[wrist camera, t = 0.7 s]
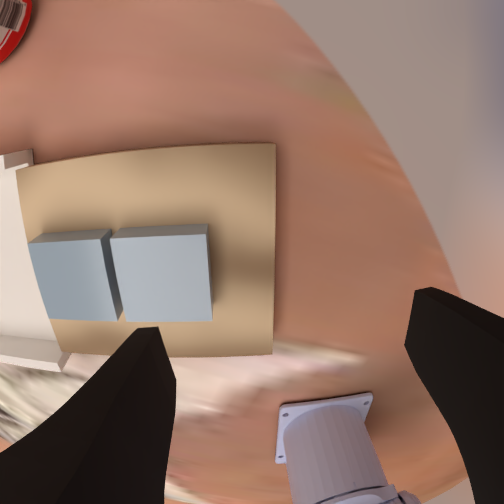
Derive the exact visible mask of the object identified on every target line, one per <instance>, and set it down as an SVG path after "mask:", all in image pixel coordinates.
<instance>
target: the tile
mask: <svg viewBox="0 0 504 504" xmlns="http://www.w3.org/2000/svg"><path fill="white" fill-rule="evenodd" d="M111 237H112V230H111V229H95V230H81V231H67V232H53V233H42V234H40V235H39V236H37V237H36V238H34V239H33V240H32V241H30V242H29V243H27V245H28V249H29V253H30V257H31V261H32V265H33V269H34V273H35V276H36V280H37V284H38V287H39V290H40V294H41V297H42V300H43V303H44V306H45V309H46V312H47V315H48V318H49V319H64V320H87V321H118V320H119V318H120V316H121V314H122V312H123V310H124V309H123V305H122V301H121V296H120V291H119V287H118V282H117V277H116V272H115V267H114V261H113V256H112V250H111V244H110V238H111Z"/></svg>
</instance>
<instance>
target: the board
mask: <svg viewBox="0 0 504 504" xmlns="http://www.w3.org/2000/svg"><path fill="white" fill-rule="evenodd" d="M15 171H16V180H17V187H18V194H19V201H20V207H21V213H22V218H23V224H24V229H25V234H26V238H27V243H29V242H30V241H32V240H33V239H34V238H36V237H37V236H39V235H40V234H42V233H53V232H67V231H81V230H95V229H111V230H112V236H113V235H114V234H115V233H116V232H117V231H118V230H119V229H120V228H128V227H145V226H165V225H186V224H208V230H209V247H210V263H211V277H212V291H213V304H214V305H213V321H190V322H126V318H125V314H124V310H123V312H122V314H121V316H120V318H119V320H118V321H87V320H64V319H49V320H50V323H51V325H52V328H53V331H54V333H55V336H56V339H57V341H58V344H59V346H60V349H61V351H62V352H71V353H82V354H96V355H112V354H113V353H114V352H115V351H116V350H117V349H118V348H119V347H120V346H121V345H122V343H123V342H124V341H125V340H126V339H127V338H128V337H129V336H130V335H131V334H132V333H133V332H134V331H135V330H136V329H137V328H144V327H157V326H158V327H159V330H160V333H161V336H162V339H163V343H164V346H165V349H166V352H167V355H168V357H231V356H253V355H270V354H272V346H273V314H274V274H275V214H276V144H275V143H271V142H238V143H209V144H191V145H176V146H163V147H152V148H141V149H132V150H123V151H115V152H107V153H100V154H93V155H86V156H79V157H73V158H67V159H61V160H56V161H50V162H45V163H40V164H35V165H31V166H27V167H24V168H21V169H17V170H15Z"/></svg>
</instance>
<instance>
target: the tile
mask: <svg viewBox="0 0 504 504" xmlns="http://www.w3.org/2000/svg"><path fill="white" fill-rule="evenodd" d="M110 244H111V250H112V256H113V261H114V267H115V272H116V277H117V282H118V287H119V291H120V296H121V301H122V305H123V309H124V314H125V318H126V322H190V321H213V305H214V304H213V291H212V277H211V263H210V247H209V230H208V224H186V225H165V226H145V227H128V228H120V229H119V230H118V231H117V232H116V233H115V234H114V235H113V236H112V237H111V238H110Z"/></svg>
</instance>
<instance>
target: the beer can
mask: <svg viewBox="0 0 504 504" xmlns="http://www.w3.org/2000/svg"><path fill="white" fill-rule="evenodd" d="M31 9H32V1H31V0H0V63H1V62H2V61H4V60H5V59H6V58H7V57H8V56H9V55H10V53H11V52H12V51H13V50H14V49H15V47H16V46H17V45H18V44H19V42H20V40H21V39H22V37H23V35H24V34H25V31H26V29H27V26H28V23H29V20H30V15H31Z"/></svg>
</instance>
